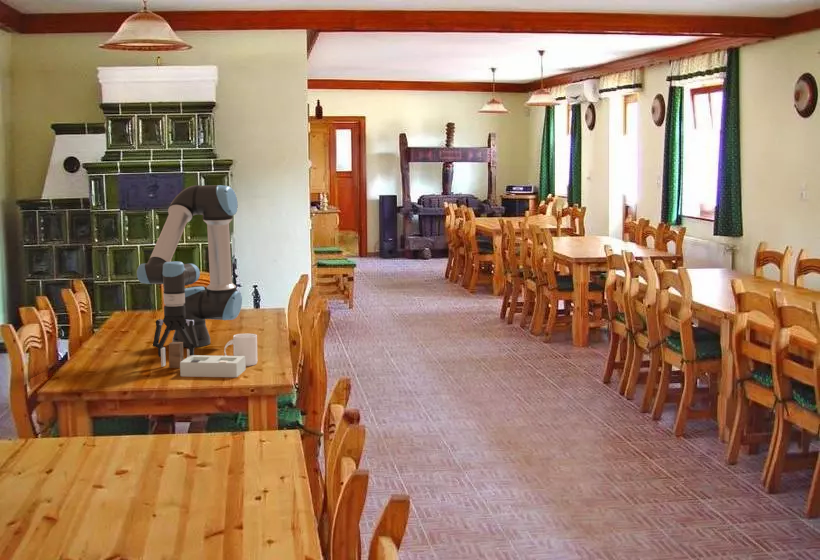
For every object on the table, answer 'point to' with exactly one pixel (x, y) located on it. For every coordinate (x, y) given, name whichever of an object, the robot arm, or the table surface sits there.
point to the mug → (245, 347)
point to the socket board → (212, 366)
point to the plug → (175, 354)
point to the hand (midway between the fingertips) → (176, 365)
